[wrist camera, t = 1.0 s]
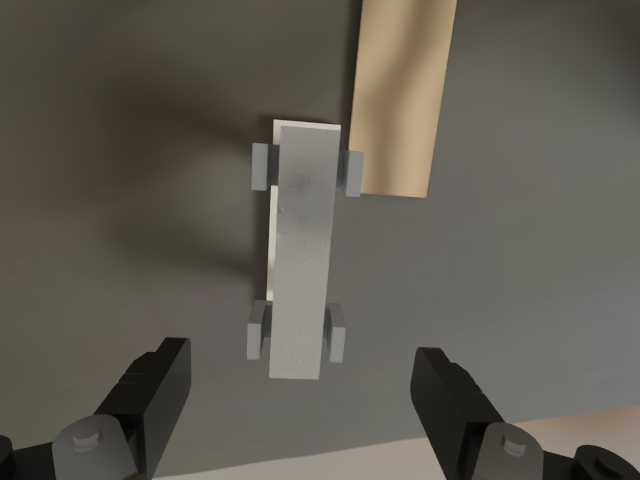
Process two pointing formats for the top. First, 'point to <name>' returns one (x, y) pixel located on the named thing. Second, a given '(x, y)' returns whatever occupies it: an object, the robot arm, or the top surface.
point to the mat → (399, 92)
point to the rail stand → (262, 178)
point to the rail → (302, 249)
